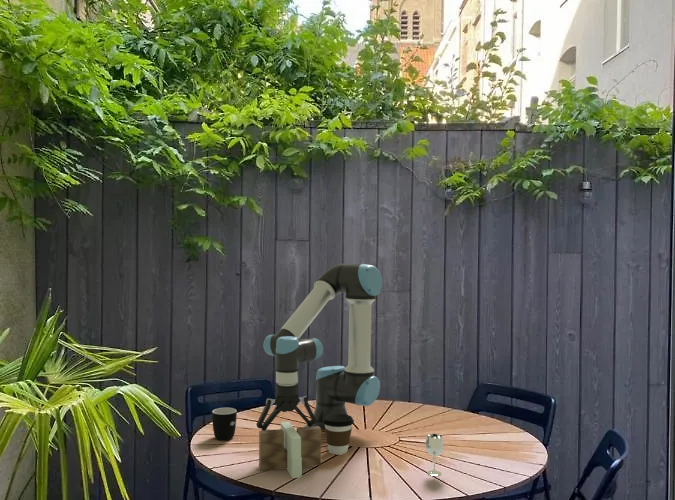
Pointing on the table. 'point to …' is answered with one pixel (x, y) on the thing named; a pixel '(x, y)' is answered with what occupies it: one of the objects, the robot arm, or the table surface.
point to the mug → (224, 423)
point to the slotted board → (276, 455)
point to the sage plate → (292, 450)
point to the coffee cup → (338, 432)
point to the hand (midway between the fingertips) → (286, 446)
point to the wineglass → (434, 449)
